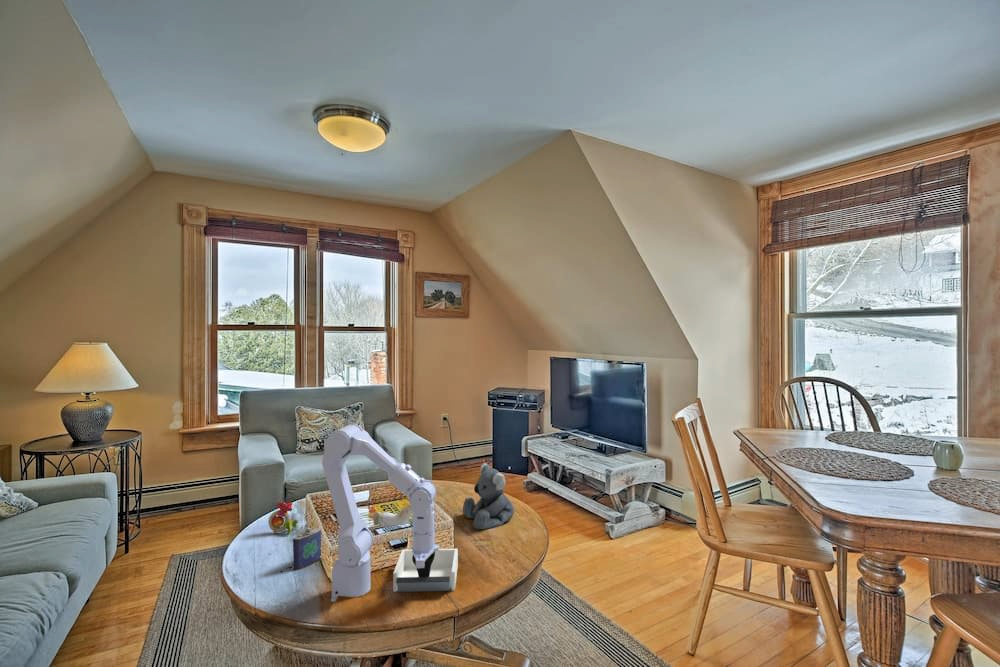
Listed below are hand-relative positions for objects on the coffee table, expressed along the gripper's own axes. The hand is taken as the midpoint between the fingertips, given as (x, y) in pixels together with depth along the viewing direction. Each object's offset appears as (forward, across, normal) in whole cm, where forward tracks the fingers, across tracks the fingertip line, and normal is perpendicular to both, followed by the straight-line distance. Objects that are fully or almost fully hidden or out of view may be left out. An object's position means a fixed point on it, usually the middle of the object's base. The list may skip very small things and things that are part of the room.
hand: (424, 581), depth 122 cm
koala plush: (+5, +50, -18) cm, 53 cm away
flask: (+4, +19, +37) cm, 42 cm away
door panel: (+3, +1, 0) cm, 3 cm away
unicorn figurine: (+4, +34, +12) cm, 36 cm away
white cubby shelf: (+4, +7, 0) cm, 8 cm away
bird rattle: (+4, +41, +54) cm, 68 cm away
